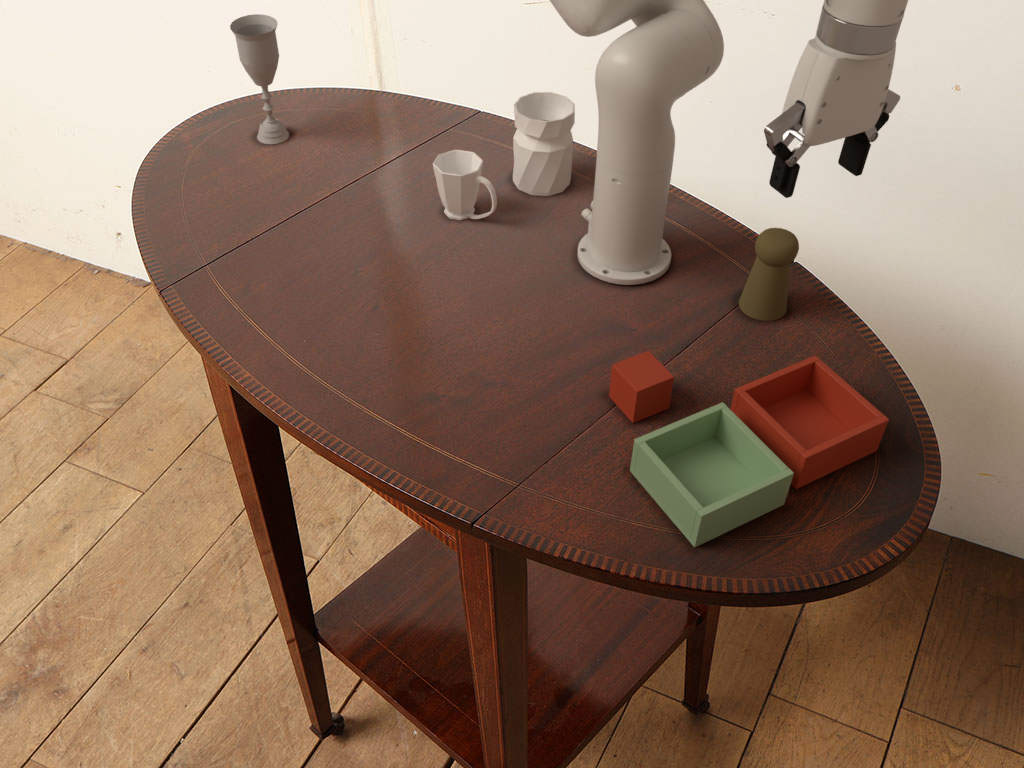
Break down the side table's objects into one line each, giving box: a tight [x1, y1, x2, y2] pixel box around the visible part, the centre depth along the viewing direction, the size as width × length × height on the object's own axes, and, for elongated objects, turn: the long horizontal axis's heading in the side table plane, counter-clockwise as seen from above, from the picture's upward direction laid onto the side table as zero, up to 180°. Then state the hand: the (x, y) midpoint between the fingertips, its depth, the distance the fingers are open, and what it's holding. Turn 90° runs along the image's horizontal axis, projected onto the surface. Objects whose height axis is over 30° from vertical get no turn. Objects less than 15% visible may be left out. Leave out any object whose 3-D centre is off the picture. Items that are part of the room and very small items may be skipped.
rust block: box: [608, 350, 675, 424], centre depth 112 cm, size 5×5×5 cm
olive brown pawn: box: [738, 227, 800, 322], centre depth 123 cm, size 6×6×11 cm
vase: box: [512, 91, 576, 197], centre depth 143 cm, size 9×9×12 cm
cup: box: [432, 149, 498, 221], centre depth 138 cm, size 7×10×8 cm
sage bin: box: [629, 401, 794, 548], centre depth 103 cm, size 12×12×5 cm
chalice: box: [229, 13, 290, 145], centre depth 149 cm, size 7×7×18 cm
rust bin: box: [729, 355, 890, 490], centre depth 108 cm, size 12×12×5 cm
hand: (815, 180), depth 108 cm, fingers open, 9 cm apart
